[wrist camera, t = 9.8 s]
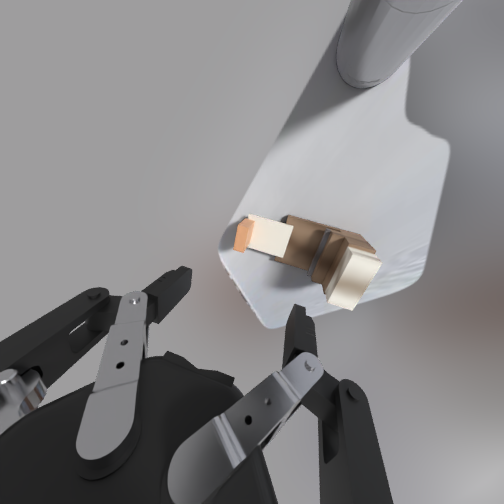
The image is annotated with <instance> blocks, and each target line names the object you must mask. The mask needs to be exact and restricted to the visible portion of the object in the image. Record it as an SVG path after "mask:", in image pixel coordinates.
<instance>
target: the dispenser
mask: <svg viewBox="0 0 504 504" xmlns="http://www.w3.org/2000/svg"><path fill="white" fill-rule="evenodd" d="M286 224H288V225H292V226H294V227H293V230H292V233H291V236H290V239H289V242H288V245H287V247H286V250H285V253H284V256H283V258H281V257H278V256H275V259H274V260H275V261H278V262H281V263H285V264H288V265H291V266H294V267H298V268H301V269H304V270H307V271H308V272H307V276H311V279H312V281H313V282H316V283H319V284H322V287H323V292H324V294H326V299H327V303H330V304H333V305H336V306H339V307H342V308H345V309H348V310H352V311H353V309H354V308H355V306H356V304H357V303H358V301H359V300H360V298H361V296H362V295H363V293H364V292H365V290H366V289H367V287H368V285H369V284H370V282H371V281H372V279H373V277H374V276H375V274H376V273H377V271H378V269H379V268H380V266H381V265H382V262H381V261H380V259H379V258H378V257H377V256H376V255H375V252H376V250H375V249H374V248H373V247H372V246H371V245H370V244H369V243H368V242H367V241H366V240H365V239H364V238H363V237H362V236H361V235H360V234H356V233H353V232H349V231H345V230H342V229H338V228H335V227H331V226H327V225H324V224H320V223H316V222H313V221H309V220H306V219H302V218H298V217H295V216H291V215H288V218H287V221H286Z"/></svg>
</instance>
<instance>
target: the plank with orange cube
mask: <svg viewBox="0 0 504 504" xmlns="http://www.w3.org/2000/svg"><path fill="white" fill-rule="evenodd" d="M293 227H294V226H292V225H288V224H285V223H281V222H278V221H274V220H270V219H267V218H263V217H260V216H256V215H253V214H249V216H248V219H246V218H245V219H244V220H243V221H242V222H241V223H240V224H238V228H237V233H236V238H235V243H234V248H233V250H236V251H239V252H242V253H244V251H245V250H246V248H247V247H248V248H252V249H255V250H258V251H262V252H265V253H268V254H271V255H275V256H278V257H281V258H283V256H284V253H285V250H286V247H287V245H288V242H289V239H290V236H291V233H292V230H293Z"/></svg>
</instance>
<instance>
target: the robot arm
mask: <svg viewBox="0 0 504 504" xmlns="http://www.w3.org/2000/svg"><path fill="white" fill-rule="evenodd" d="M462 1H463V0H351V1H350V5H349V8H348V12H347V15H346V18H345V21H344V25H343V28H342V31H341V35H340V38H339V42H338V46H337V53H336V60H337V67H338V71H339V73H340V75H341V77H342V78H343V80H344V81H345V82H346V83H348V84H349V85H350V86H353V87H356V88H368V87H373V86H375V85H377V84H380V83H381V82H383V81H384V80H386V79H387V78H389V77H390V76H391V75H392V74H393V73H394V72H395V71H396V70H397V69H398V68H399V67H400V66H401V65H402V64H403V63H404V62H405V61H406V60H407V59H408V58H409V57H410V56H411V54H412V53H413V52H414V51H415V50H416V49H417V48H418V47H419V46H420V45H421V44H422V43H423V42H424V41H425V40H426V39H427V38H428V37H429V35H430V34H431V33H432V32H433V31H434V30H435V29H436V28H437V27H438V26H439V25H440V24H441V23H442V22H443V21H444V20H445V19H446V18H447V16H448V15H449V14H450V13H451V12H452V11H453V10H454V9H455V8H456V7H457V6H458V5H459V4H460V3H461V2H462ZM191 279H192V269H190V268H187V267H184V266H181V267H179V268H178V269H177V270H176V271H175V270H171V271H169V272H166V273H165V274H163V275H162V276H161V277H160V278H158V279H157V280H155V281H154V282H153V283H152V284H150V285H149V286H148V287H146V288H145V289H144V290H142V291H141V292H140V291H135V292H130V293H128V294H126V295H124V296H111V295H109V291H108V290H107V289H106V288H101V287H99V288H91V289H88V290H86V291H84V292H82V293H81V294H79V295H77V296H76V297H74V298H72V299H71V300H69V301H68V302H66V303H64V304H63V305H61V306H59V307H58V308H56V309H54V310H52V311H51V312H49V313H47V314H46V315H44V316H42V317H41V318H39V319H38V320H36V321H35V322H33V323H31V324H29V325H28V326H26V327H24V328H23V329H21V330H19V331H18V332H16V333H14V334H13V335H11V336H9V337H8V338H6V339H4V340H3V341H1V342H0V504H278V501H277V498H276V495H275V492H274V488H273V485H272V482H271V478H270V475H269V472H268V468H267V465H266V462H265V459H264V455H263V452H262V451H263V450H264V449H265V448H266V447H267V446H268V445H269V443H270V442H271V441H272V440H273V439H274V437H275V436H276V435H277V434H278V432H279V431H280V430H281V428H282V427H283V426H284V425H285V424H286V422H287V421H288V420H289V419H290V418H291V417H292V416H293V415H294V413H295V412H296V411H297V410H298V409H299V408H300V407H301V405H304V406H305V407H306V408H307V409H309V410H310V411H311V412H312V413H313V414H314V415H316V416H317V417H318V434H319V435H318V436H319V477H320V504H393V500H392V496H391V492H390V488H389V484H388V480H387V476H386V472H385V467H384V463H383V460H382V456H381V452H380V448H379V443H378V439H377V435H376V431H375V427H374V423H373V419H372V415H371V411H370V407H369V403H368V399H367V397H366V395H365V393H364V392H363V390H362V389H361V388H360V387H359V386H358V385H357V384H356V383H354V382H353V381H351V380H348V379H343V380H341V381H340V382H339V381H338V380H337V379H335V378H334V377H332V376H331V375H329V374H328V373H327V372H326V371H325V370H324V369H323V365H322V363H321V362H320V360H319V359H318V355H317V345H316V337H315V336H316V335H315V324H314V322H313V320H312V318H311V317H309V316H306V309H305V307H303V306H300V305H297V304H294V306H293V308H292V311H291V313H290V315H289V318H288V320H287V324H286V331H285V342H284V354H283V364H282V370H281V371H279V372H277V371H275V372H273V373H272V374H271V375H269V376H268V377H267V378H266V379H265V380H263V381H262V382H261V383H260V384H259V385H257V386H256V387H255V388H253V389H252V390H251V391H250V392H249V393H247V394H246V395H245V396H243V394H242V393H241V391H240V390H239V389H238V388H237V387H236V386H235V385H234V384H233V382H234V377H231V376H229V375H226V374H224V373H221V372H218V371H213V370H204V369H197V368H196V367H195V366H194V365H192V364H191V363H190V362H189V361H187V360H186V359H185V358H184V357H181V356H179V355H177V354H174V353H172V352H169V351H167V352H166V353H165V355H164V356H154V357H149V358H147V352H148V337H149V325H150V324H151V323H152V322H155V323H157V324H159V323H160V322H161V321H162V320H163V319H164V318H165V316H166V315H167V314H168V313H169V312H170V311H171V310H172V309H173V308H174V307H175V306H176V305H177V304H178V302H179V301H180V300H181V299H182V298H183V297H184V296H185V295H186V294H187V293H188V291H189V290H190V287H191ZM84 321H85V323H84V324H83V325H81V326H80V327H79V328H77V329H76V330H75V331H73V332H72V333H71V334H70V332H71V331H72V330H73V329H74V328H76V327H77V326H78V325H80V324H81V323H83V322H84ZM108 333H109V334H108ZM69 334H70V335H69ZM106 334H108V337H107V341H106V345H105V349H104V352H103V356H102V359H101V363H100V367H99V370H98V374H97V378H96V381H95V382H93V383H91V384H89V385H86V386H84V387H82V388H80V389H78V390H76V391H74V392H72V393H69V394H67V395H65V396H63V397H61V398H59V399H57V400H54V401H52V402H50V403H48V404H46V405H44V406H42V407H39V408H38V405H39V404H40V403H41V402H42V400H43V399H44V397H45V395H46V392H47V389H48V388H49V387H50V386H51V385H52V384H53V383H54V382H55V381H56V380H57V379H58V378H59V377H61V376H62V375H63V374H64V373H65V372H66V371H67V370H68V369H69V368H70V367H72V366H73V364H75V363H76V362H77V361H78V360H79V359H80V358H81V357H82V356H84V355H85V354H86V353H87V352H88V351H89V350H90V349H91V348H92V347H93V346H94V345H96V344H97V343H98V342H99V341H100V340H101V339H102V338H103V337H104V336H105V335H106Z"/></svg>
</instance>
